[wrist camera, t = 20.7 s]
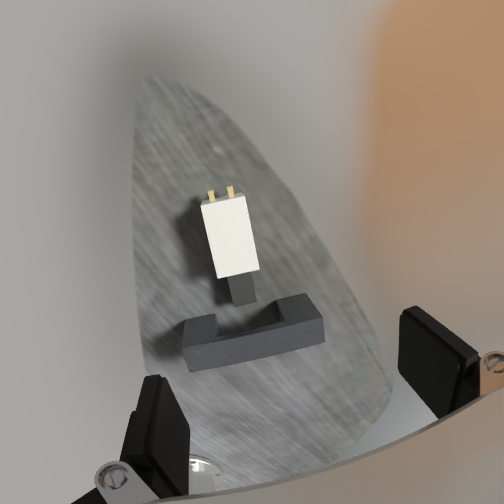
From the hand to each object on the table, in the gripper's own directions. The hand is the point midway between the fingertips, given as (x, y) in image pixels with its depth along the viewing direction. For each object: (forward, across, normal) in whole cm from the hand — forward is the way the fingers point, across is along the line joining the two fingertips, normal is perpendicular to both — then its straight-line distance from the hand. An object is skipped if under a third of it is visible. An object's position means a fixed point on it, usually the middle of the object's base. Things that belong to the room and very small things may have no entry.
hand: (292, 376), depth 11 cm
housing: (+23, +1, +9) cm, 25 cm away
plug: (+23, +1, +1) cm, 23 cm away
